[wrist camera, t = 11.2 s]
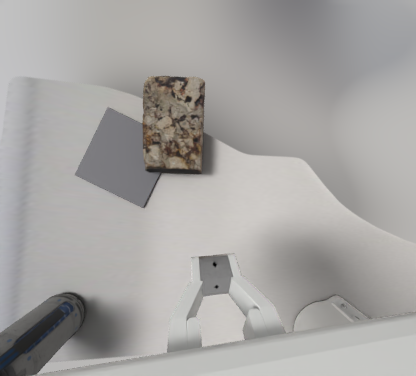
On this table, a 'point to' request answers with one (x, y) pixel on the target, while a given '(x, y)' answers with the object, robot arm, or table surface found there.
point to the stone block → (173, 124)
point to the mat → (118, 159)
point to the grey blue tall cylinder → (39, 335)
